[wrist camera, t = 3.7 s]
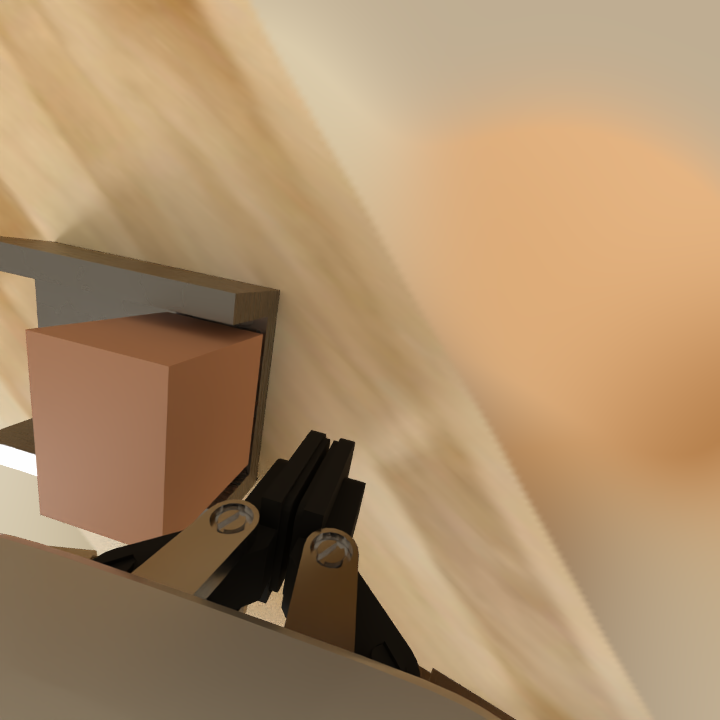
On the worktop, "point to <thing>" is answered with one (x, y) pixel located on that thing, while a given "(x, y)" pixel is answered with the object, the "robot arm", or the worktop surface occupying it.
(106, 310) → the chute
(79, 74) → the worktop surface
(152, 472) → the block
